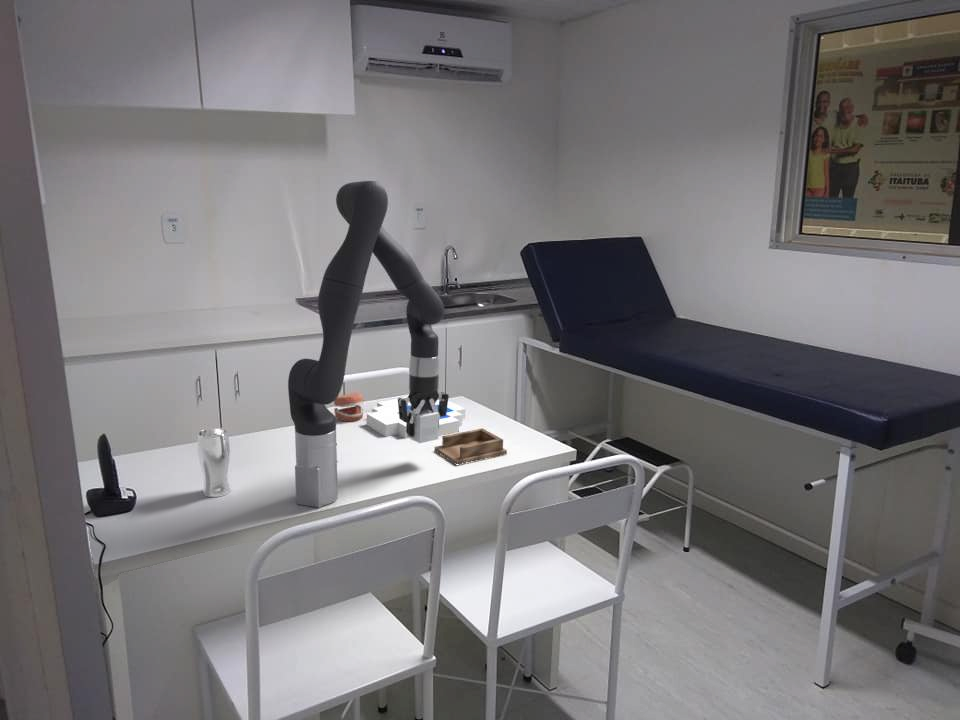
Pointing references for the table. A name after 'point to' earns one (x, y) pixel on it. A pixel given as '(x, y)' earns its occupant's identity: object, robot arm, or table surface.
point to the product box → (425, 426)
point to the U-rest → (471, 446)
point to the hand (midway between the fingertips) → (422, 433)
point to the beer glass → (214, 460)
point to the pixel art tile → (390, 423)
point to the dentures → (349, 412)
